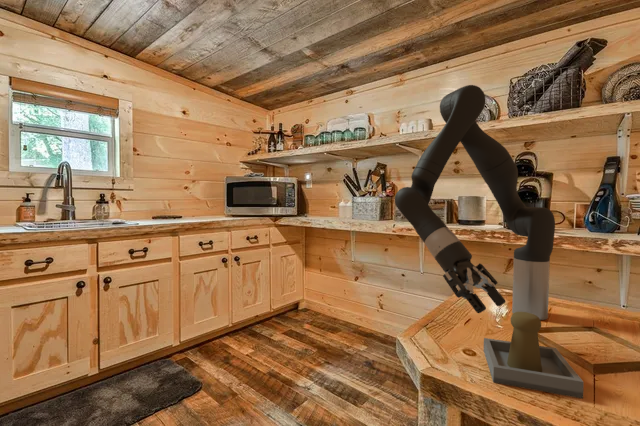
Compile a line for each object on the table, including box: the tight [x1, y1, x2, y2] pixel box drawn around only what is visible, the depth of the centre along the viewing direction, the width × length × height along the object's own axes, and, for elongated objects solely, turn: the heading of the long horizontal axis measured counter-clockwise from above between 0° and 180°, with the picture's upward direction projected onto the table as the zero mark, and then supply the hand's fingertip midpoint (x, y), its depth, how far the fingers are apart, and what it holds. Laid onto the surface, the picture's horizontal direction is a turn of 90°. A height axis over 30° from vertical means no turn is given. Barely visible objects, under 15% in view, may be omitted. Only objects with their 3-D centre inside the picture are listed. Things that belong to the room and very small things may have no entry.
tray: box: [483, 337, 585, 400], centre depth 65 cm, size 14×14×3 cm
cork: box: [507, 312, 542, 372], centre depth 64 cm, size 6×6×11 cm
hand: (492, 307), depth 70 cm, fingers open, 8 cm apart
